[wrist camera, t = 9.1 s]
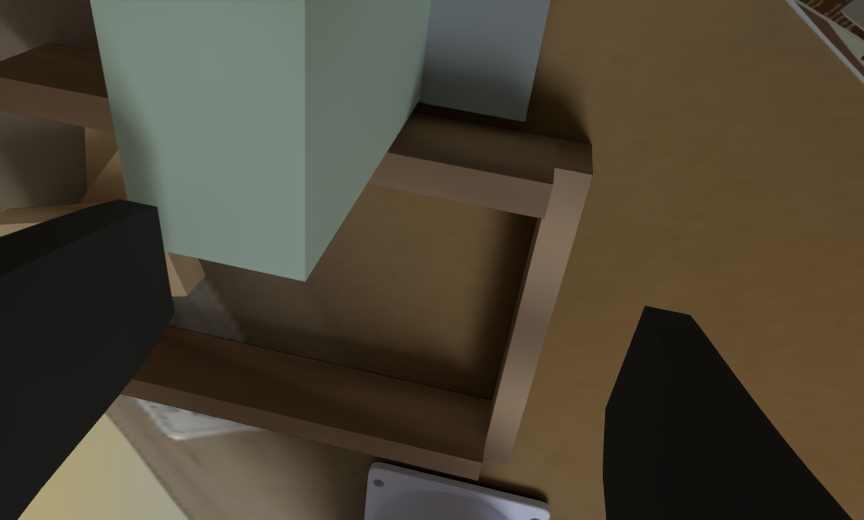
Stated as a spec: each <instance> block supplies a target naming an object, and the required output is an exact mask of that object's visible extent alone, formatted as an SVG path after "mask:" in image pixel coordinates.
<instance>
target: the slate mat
mask: <svg viewBox="0 0 864 520" xmlns="http://www.w3.org/2000/svg"><path fill="white" fill-rule="evenodd" d="M550 1H551V0H431V2H430V12H429V21H428V30H427V39H426V49H425V58H424V67H423V77H422V86H421V95H420V100H419V102H420V103H425V104H430V105H436V106H441V107H447V108H452V109H457V110H463V111H468V112H474V113H479V114H484V115H490V116H495V117H501V118H506V119H511V120H517V121H522V122H525V119H526V114H527V110H528V105H529V100H530V96H531V91H532V86H533V81H534V77H535V72H536V67H537V62H538V58H539V53H540V48H541V44H542V39H543V34H544V29H545V25H546V20H547V15H548V11H549V6H550Z"/></svg>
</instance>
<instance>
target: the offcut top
mask: <svg viewBox="0 0 864 520" xmlns="http://www.w3.org/2000/svg"><path fill="white" fill-rule="evenodd" d="M127 201H128V200H127ZM101 203H105V202H99V203H85V204H70V205H57V206H43V207H29V208H15V209H7V210H6V211H4V212H2V213H1V214H0V237H1V236H4V235H7V234H10V233H13V232H16V231H19V230H21V229H24V228H27V227H30V226H33V225H36V224H39V223H42V222H45V221H48V220H51V219H54V218H57V217H60V216H63V215H66V214H69V213H72V212H75V211H78V210H81V209H84V208H88V207H91V206H94V205H98V204H101ZM165 257H166V264H167V270H168V276H169V282H170V289H171V295H172V297H175V296H188V295H189V294H190V293H191V291H192V290H193V289H194V288H195V287H196V286H197V285H198V284H199V282H200V281H201V280H202V279H203V278H204V277H205V273H204V271H203V269H202V266H201V264H200V262H199V259H198V258H194V257H189V256H185V255H180V254H176V253H171V252H166V251H165Z"/></svg>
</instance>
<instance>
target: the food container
mask: <svg viewBox="0 0 864 520" xmlns="http://www.w3.org/2000/svg"><path fill="white" fill-rule="evenodd" d="M785 1H786V2H787V3H788V4H789V5H790V6H791V7H792V8H793V10H794V11H795V12H796V13H797V14H798V15H799V16H800V17H801V18H802V19H803V20H804V21H805V22H806V23H807V24H808V25H809V27H810V28H811V29H812V30H813V31H814V32H815V33H816V34H817V35H818V36H819V37H820V38H821V39H822V40H823V41H824V43H825V44H826V45H827V46H828V47H829V48H830V49H831V50H832V51H833V52H834V53H835V54H836V55H837V56H838V57H839V58H840V60H841V61H842V62H843V63H844V64H845V65H846V66H847V67H848V68H849V69H850V70H851V71H852V72H853V73H854V74H855V76H856V77H857V78H858V79H859V80H860V81H861V82H862V83H863V84H864V0H785Z"/></svg>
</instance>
